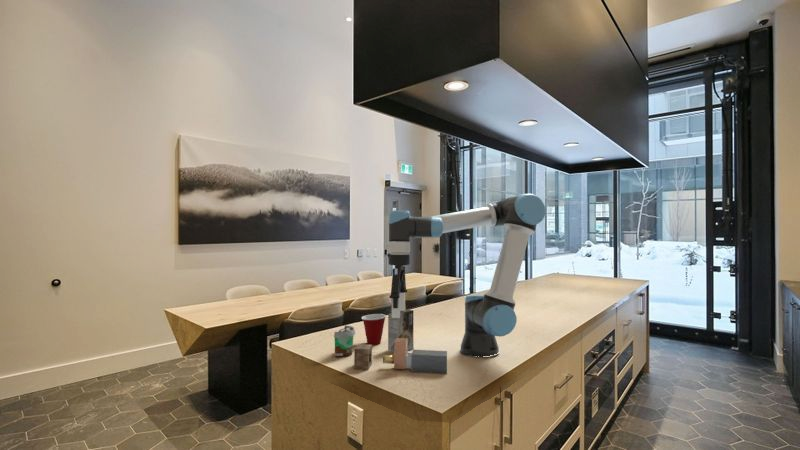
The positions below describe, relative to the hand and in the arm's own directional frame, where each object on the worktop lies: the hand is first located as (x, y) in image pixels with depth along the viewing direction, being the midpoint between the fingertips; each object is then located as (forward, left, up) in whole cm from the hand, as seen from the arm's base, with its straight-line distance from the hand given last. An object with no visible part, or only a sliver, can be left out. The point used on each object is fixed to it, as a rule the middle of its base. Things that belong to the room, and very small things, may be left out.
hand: (398, 314), depth 135 cm
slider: (-6, +1, -18) cm, 19 cm away
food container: (+22, -12, -19) cm, 32 cm away
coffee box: (+2, -22, -19) cm, 29 cm away
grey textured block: (+12, +1, -19) cm, 23 cm away
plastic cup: (+15, -30, -19) cm, 39 cm away
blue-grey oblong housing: (-11, +1, -19) cm, 22 cm away
